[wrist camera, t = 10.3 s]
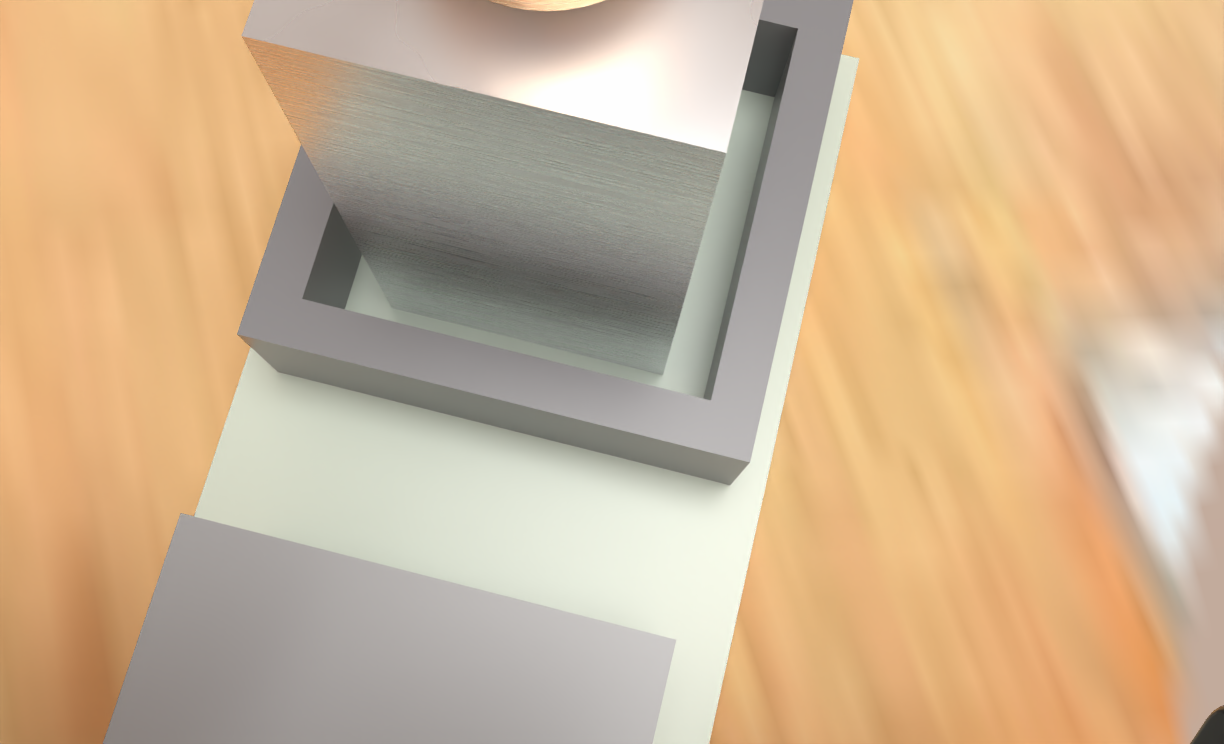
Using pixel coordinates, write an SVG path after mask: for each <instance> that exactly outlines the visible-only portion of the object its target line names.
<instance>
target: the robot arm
mask: <svg viewBox="0 0 1224 744" xmlns="http://www.w3.org/2000/svg"><path fill="white" fill-rule="evenodd" d="M1190 744H1224V705H1223V706H1220V707H1219V708H1217V709H1216V710H1214V711H1213V712H1212V713H1211V714H1210V715H1209V717H1208V718H1207V719H1206V721H1205V722H1204V724H1203V725H1202V727H1201V728H1200V730H1199V731H1198V733H1197V734H1196V736H1195V737H1194V739H1193V740H1192V742H1191V743H1190Z"/></svg>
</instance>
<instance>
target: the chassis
mask: <svg viewBox="0 0 1224 744" xmlns="http://www.w3.org/2000/svg"><path fill="white" fill-rule="evenodd" d="M852 4H853V0H764V1H763V5H762V9H761V13H760V18H759V22H758V26H757V30H756V34H755V38H754V42H753V46H752V50H751V54H750V58H749V62H748V67H747V71H746V75H745V79H744V83H743V87H742V91H741V95H740V99H739V103H738V107H737V111H736V116H735V120H734V124H733V128H732V132H731V136H730V140H729V144H728V148H727V152H726V156H725V159H724V163H723V166H722V170H721V173H720V177H719V180H718V184H717V187H716V191H715V194H714V198H713V202H712V205H711V209H710V212H709V216H708V219H707V223H706V226H705V230H704V233H703V237H702V240H701V244H700V247H699V251H698V254H697V258H696V261H695V265H694V268H693V272H692V275H691V279H690V282H689V286H688V289H687V293H686V296H685V300H684V303H683V307H682V310H681V314H680V317H679V321H678V324H677V328H676V331H675V335H674V338H673V342H672V345H671V349H670V352H669V356H668V359H667V363H666V366H665V370H664V373H663V375H660V374H656V373H652V372H648V371H644V370H640V369H636V368H632V367H627V366H623V365H619V364H615V363H611V362H607V361H603V360H599V359H595V358H591V357H587V356H583V355H579V354H575V353H571V352H567V351H563V350H559V349H555V348H551V347H547V346H543V345H539V344H535V343H531V342H527V341H523V340H519V339H515V338H511V337H507V336H503V335H499V334H495V333H491V332H487V331H483V330H479V329H475V328H471V327H467V326H463V325H459V324H454V323H450V322H446V321H442V320H438V319H434V318H430V317H426V316H422V315H418V314H414V313H410V312H406V311H402V310H398V309H394V308H392V307H391V305H390V304H389V302H388V300H387V298H386V296H385V295H384V293H383V291H382V289H381V287H380V286H379V284H378V282H377V280H376V278H375V276H374V275H373V273H372V271H371V269H370V267H369V266H368V264H367V262H366V260H365V258H364V257H363V255H362V253H361V251H360V249H359V247H358V246H357V244H356V242H355V240H354V238H353V237H352V235H351V233H350V231H349V229H348V228H347V226H346V224H345V222H344V220H343V219H342V217H341V215H340V213H339V211H338V209H337V208H336V206H335V204H334V202H333V200H332V199H331V197H330V195H329V193H328V191H327V190H326V188H325V186H324V184H323V182H322V181H321V179H320V177H319V175H318V173H317V171H316V170H315V168H314V166H313V164H312V162H311V161H310V159H309V157H308V155H307V153H306V152H305V150H304V148H303V146H302V144H301V147H300V150H299V153H298V156H297V159H296V162H295V165H294V168H293V170H292V173H291V176H290V179H289V182H288V185H287V188H286V191H285V194H284V197H283V200H282V203H281V206H280V209H279V212H278V215H277V218H276V221H275V224H274V227H273V230H272V232H271V235H270V238H269V241H268V244H267V247H266V250H265V253H264V256H263V259H262V262H261V265H260V268H259V271H258V274H257V277H256V280H255V283H254V286H253V289H252V292H251V295H250V297H249V300H248V303H247V306H246V309H245V312H244V315H243V318H242V321H241V324H240V327H239V330H238V333H237V335H238V336H239V337H241V338H242V339H243V340H244V341H245V342H246V343H247V344H248V345H249V346H250V347H251V348H250V351H249V354H248V357H247V360H246V363H245V366H244V369H243V372H242V375H241V378H240V381H239V384H238V386H237V389H236V392H235V395H234V398H233V401H232V404H231V407H230V410H229V413H228V416H227V419H226V422H225V425H224V428H223V431H222V434H221V437H220V440H219V443H218V446H217V449H216V452H215V455H214V458H213V461H212V464H211V467H210V470H209V473H208V476H207V479H206V482H205V485H204V488H203V491H202V494H201V497H200V500H199V503H198V506H197V509H196V512H195V515H194V516H190V515H186V514H182V513H181V514H180V517H179V520H178V523H177V526H176V529H175V532H174V534H173V537H172V540H171V543H170V546H169V549H168V552H167V555H166V558H165V561H164V564H163V567H162V570H161V573H160V576H159V579H158V582H157V585H156V588H155V591H154V594H153V597H152V600H151V603H150V606H149V609H148V611H147V614H146V617H145V620H144V623H143V626H142V629H141V632H140V635H139V638H138V641H137V644H136V647H135V650H134V653H133V656H132V659H131V662H130V665H129V668H128V671H127V674H126V677H125V680H124V683H123V685H122V688H121V691H120V694H119V697H118V700H117V703H116V706H115V709H114V712H113V715H112V718H111V721H110V724H109V727H108V730H107V733H106V736H105V739H104V742H103V744H709V742H710V737H711V733H712V728H713V724H714V719H715V715H716V710H717V705H718V701H719V696H720V692H721V687H722V683H723V678H724V673H725V669H726V664H727V660H728V655H729V651H730V646H731V641H732V637H733V632H734V628H735V623H736V619H737V614H738V610H739V605H740V600H741V596H742V591H743V587H744V582H745V578H746V573H747V568H748V564H749V559H750V555H751V550H752V546H753V541H754V537H755V532H756V527H757V523H758V518H759V514H760V509H761V505H762V500H763V495H764V491H765V486H766V482H767V477H768V473H769V468H770V463H771V459H772V454H773V450H774V445H775V441H776V436H777V432H778V427H779V422H780V418H781V413H782V409H783V404H784V400H785V395H786V390H787V386H788V381H789V377H790V372H791V368H792V363H793V358H794V354H795V349H796V345H797V340H798V336H799V331H800V327H801V322H802V317H803V313H804V308H805V304H806V299H807V295H808V290H809V285H810V281H811V276H812V272H813V267H814V263H815V258H816V254H817V249H818V244H819V240H820V235H821V231H822V226H823V222H824V217H825V212H826V208H827V203H828V199H829V194H830V190H831V185H832V180H833V176H834V171H835V167H836V162H837V158H838V153H839V149H840V144H841V139H842V135H843V130H844V126H845V121H846V117H847V112H848V107H849V103H850V98H851V94H852V89H853V85H854V80H855V76H856V71H857V66H858V62H859V58H855V57H851V56H846V55H842V54H841V53H842V49H843V44H844V40H845V35H846V31H847V27H848V22H849V18H850V13H851V9H852Z"/></svg>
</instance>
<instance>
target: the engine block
mask: <svg viewBox="0 0 1224 744" xmlns="http://www.w3.org/2000/svg"><path fill="white" fill-rule="evenodd" d="M763 1H764V0H254V3H253V6H252V9H251V11H250V14H249V17H248V20H247V22H246V25H245V28H244V31H243V33H242V38H243V39H244V41H245V43H246V45H247V47H248V48H249V50H250V52H251V54H252V56H253V57H254V59H255V61H256V63H257V65H258V66H259V68H260V70H261V72H262V74H263V76H264V77H265V79H266V81H267V83H268V85H269V86H270V88H271V90H272V92H273V94H274V95H275V97H276V99H277V101H278V103H279V105H280V106H281V108H282V110H283V112H284V114H285V115H286V117H287V119H288V121H289V123H290V124H291V126H292V128H293V130H294V132H295V133H296V135H297V137H298V139H299V141H300V143H301V144H302V146H303V148H304V150H305V152H306V153H307V155H308V157H309V159H310V161H311V162H312V164H313V166H314V168H315V170H316V171H317V173H318V175H319V177H320V179H321V181H322V182H323V184H324V186H325V188H326V190H327V191H328V193H329V195H330V197H331V199H332V200H333V202H334V204H335V206H336V208H337V209H338V211H339V213H340V215H341V217H342V219H343V220H344V222H345V224H346V226H347V228H348V229H349V231H350V233H351V235H352V237H353V238H354V240H355V242H356V244H357V246H358V247H359V249H360V251H361V253H362V255H363V257H364V258H365V260H366V262H367V264H368V266H369V267H370V269H371V271H372V273H373V275H374V276H375V278H376V280H377V282H378V284H379V286H380V287H381V289H382V291H383V293H384V295H385V296H386V298H387V300H388V302H389V304H390V305H391V307H392V308H394V309H398V310H402V311H406V312H410V313H414V314H418V315H422V316H426V317H430V318H434V319H438V320H442V321H446V322H450V323H454V324H459V325H463V326H467V327H471V328H475V329H479V330H483V331H487V332H491V333H495V334H499V335H503V336H507V337H511V338H515V339H519V340H523V341H527V342H531V343H535V344H539V345H543V346H547V347H551V348H555V349H559V350H563V351H567V352H571V353H575V354H579V355H583V356H587V357H591V358H595V359H599V360H603V361H607V362H611V363H615V364H619V365H623V366H627V367H632V368H636V369H640V370H644V371H648V372H652V373H656V374H660V375H663V373H664V370H665V366H666V363H667V359H668V356H669V352H670V349H671V345H672V342H673V338H674V335H675V331H676V328H677V324H678V321H679V317H680V314H681V310H682V307H683V303H684V300H685V296H686V293H687V289H688V286H689V282H690V279H691V275H692V272H693V268H694V265H695V261H696V258H697V254H698V251H699V247H700V244H701V240H702V237H703V233H704V230H705V226H706V223H707V219H708V216H709V212H710V209H711V205H712V202H713V198H714V194H715V191H716V187H717V184H718V180H719V177H720V173H721V170H722V166H723V163H724V159H725V156H726V152H727V148H728V144H729V140H730V136H731V132H732V128H733V124H734V120H735V116H736V111H737V107H738V103H739V99H740V95H741V91H742V87H743V83H744V79H745V75H746V71H747V67H748V62H749V58H750V54H751V50H752V46H753V42H754V38H755V34H756V30H757V26H758V22H759V18H760V13H761V9H762V5H763Z"/></svg>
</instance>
